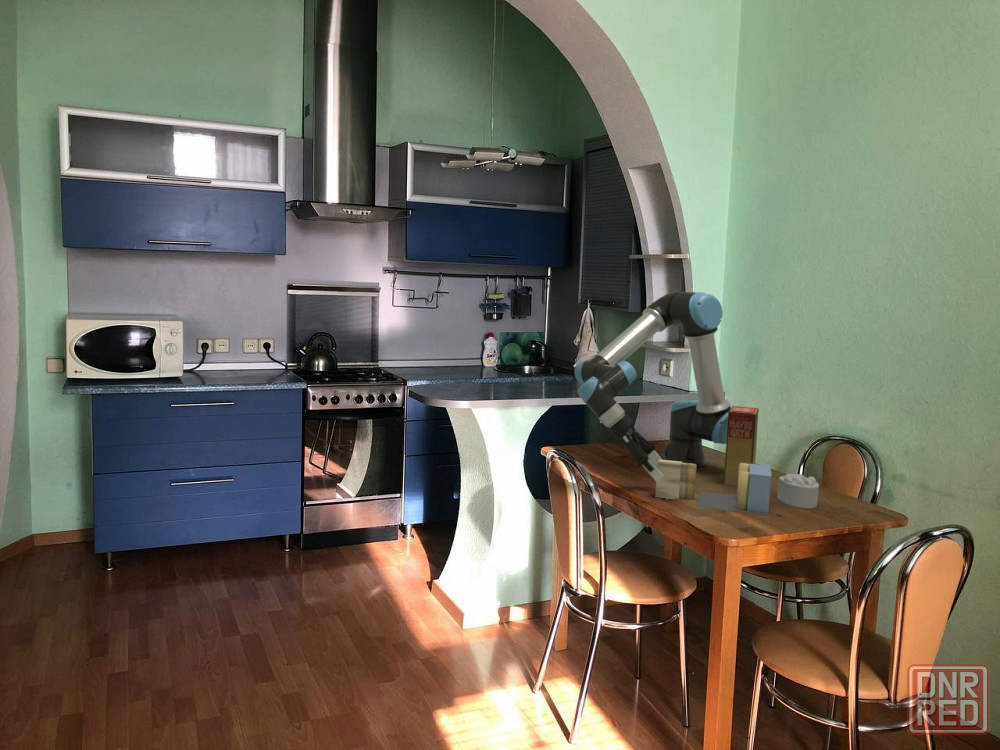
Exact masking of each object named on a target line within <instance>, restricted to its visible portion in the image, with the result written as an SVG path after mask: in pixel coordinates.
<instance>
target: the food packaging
mask: <svg viewBox="0 0 1000 750" xmlns="http://www.w3.org/2000/svg"><path fill="white" fill-rule="evenodd" d="M758 423H759V408H758V407H748V406H747V407H746V406H740V405H739V406H738V405H737V406H736V405H733V406H731V409H730V411H729V412H728V428H727V442H726V444H725V445H726V446H725V457H724V459H725V460H724V468H723V469H724V470H723V471H724V472H723V485H726V486H732V487H738V476H739V464H740V463H747V464H756V455H757V440H758V439H757V438H758Z"/></svg>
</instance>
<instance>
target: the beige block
mask: <svg viewBox="0 0 1000 750" xmlns="http://www.w3.org/2000/svg"><path fill="white" fill-rule="evenodd" d="M696 466H697V465H696V464H692V463H682V462H679V461H670V460H663V459H662V460H660V459H659V461H658V464H657V466H656V468H657V469H658V470H659V471H660V472H661V473H662V475H663V477H662V478H661V479H659V480H658V481H657V482H656V481H655V495H654V497H660V498H666V499H665V500H669V499H674V500H673V501H675V500H676V499H677V500H679V499H680V498H681V499H686V500H694V499H695V492H696V491H695V490H696V480H697V479H696V478H697V477H696V476H697V467H696ZM660 498H659V499H660Z"/></svg>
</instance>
